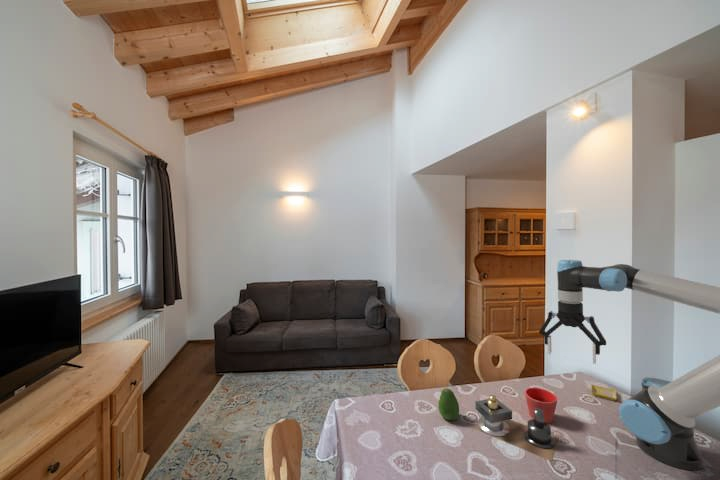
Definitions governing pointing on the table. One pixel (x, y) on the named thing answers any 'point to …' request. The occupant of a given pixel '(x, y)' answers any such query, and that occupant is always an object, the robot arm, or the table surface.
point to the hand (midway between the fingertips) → (571, 357)
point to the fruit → (448, 405)
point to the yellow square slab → (596, 392)
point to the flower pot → (541, 402)
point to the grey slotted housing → (493, 416)
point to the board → (524, 440)
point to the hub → (493, 428)
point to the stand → (539, 431)
